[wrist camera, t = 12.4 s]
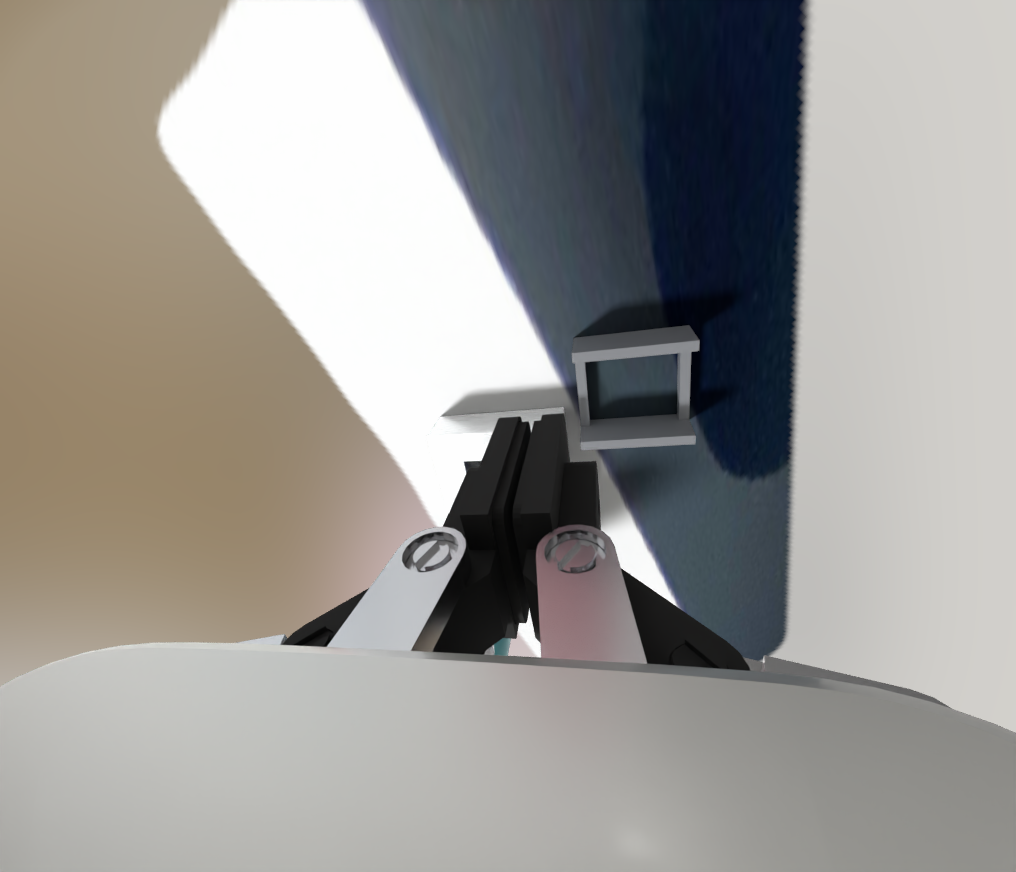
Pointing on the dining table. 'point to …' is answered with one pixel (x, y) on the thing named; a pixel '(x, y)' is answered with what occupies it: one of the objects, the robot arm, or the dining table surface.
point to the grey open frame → (644, 427)
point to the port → (468, 443)
